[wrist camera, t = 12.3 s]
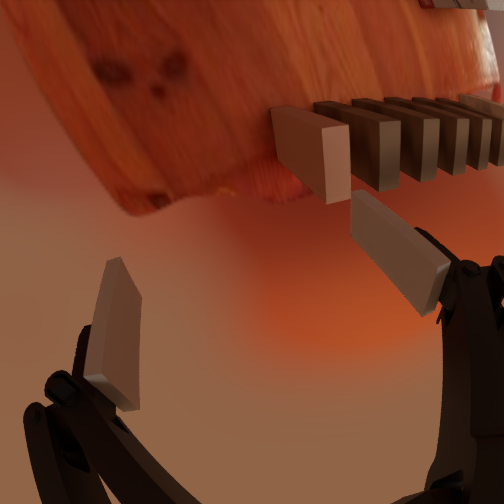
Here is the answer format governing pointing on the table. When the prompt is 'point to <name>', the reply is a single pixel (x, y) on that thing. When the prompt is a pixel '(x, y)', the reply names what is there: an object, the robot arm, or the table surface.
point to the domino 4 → (444, 135)
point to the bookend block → (483, 104)
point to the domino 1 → (314, 151)
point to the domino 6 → (500, 144)
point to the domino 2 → (369, 143)
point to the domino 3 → (411, 137)
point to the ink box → (464, 4)
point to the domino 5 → (470, 132)
